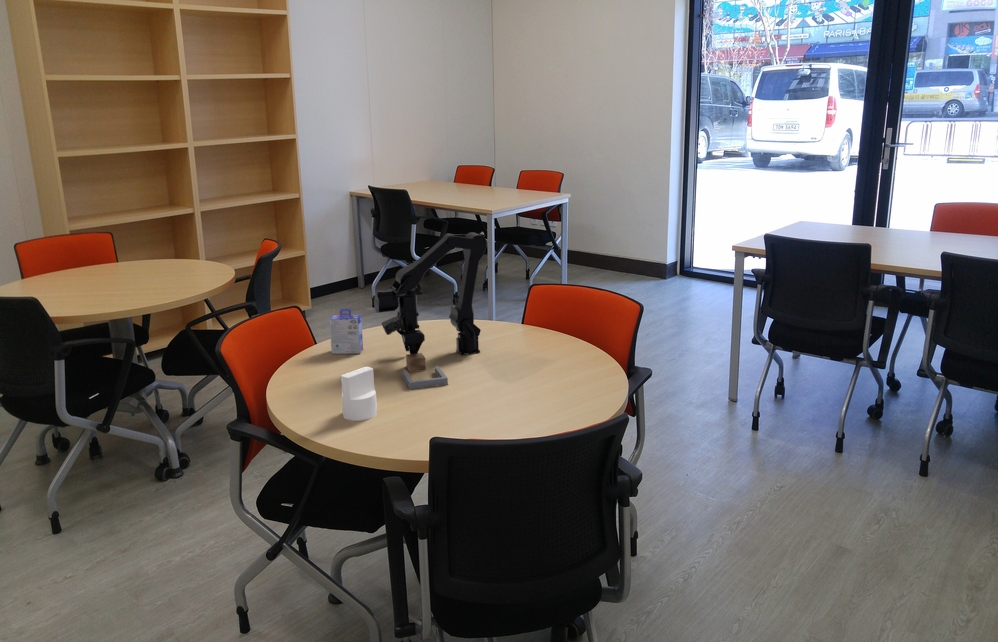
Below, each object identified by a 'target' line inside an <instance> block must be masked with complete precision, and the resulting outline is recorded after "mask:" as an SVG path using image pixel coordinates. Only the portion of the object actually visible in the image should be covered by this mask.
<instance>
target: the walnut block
mask: <svg viewBox="0 0 998 642" xmlns="http://www.w3.org/2000/svg"><path fill="white" fill-rule="evenodd" d="M405 361H406V368H407V370H408V371H409V372H412V373H413V372H418V371H419V372H420V371H426V369H427V368H426V367H427V366H426V365H427V364H426V357H425V355H424V354H423V353H422V352H418V353H416V354H410V353H409V354H406V355H405Z"/></svg>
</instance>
